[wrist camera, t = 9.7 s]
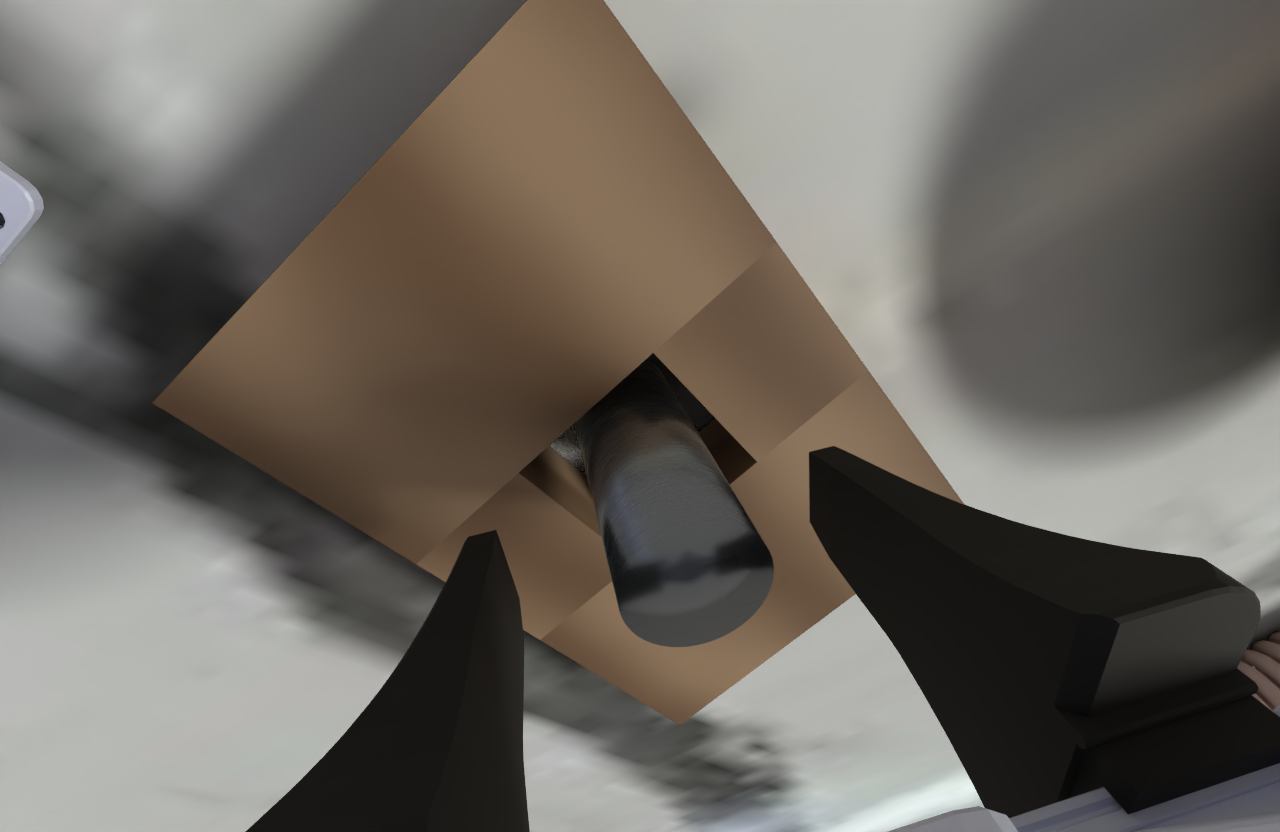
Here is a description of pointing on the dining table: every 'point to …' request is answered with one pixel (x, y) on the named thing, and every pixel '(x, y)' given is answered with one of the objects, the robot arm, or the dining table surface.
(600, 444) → the tall pin
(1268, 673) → the coil
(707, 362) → the hole plate
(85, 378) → the dining table surface
